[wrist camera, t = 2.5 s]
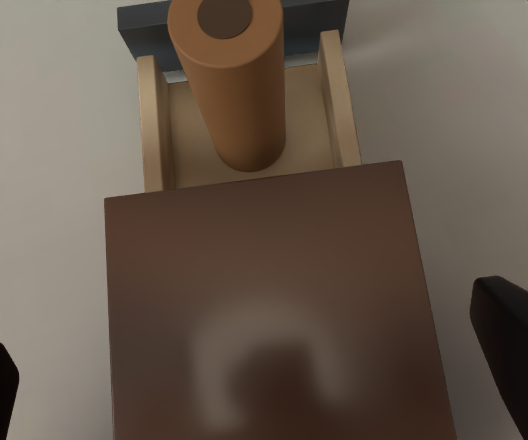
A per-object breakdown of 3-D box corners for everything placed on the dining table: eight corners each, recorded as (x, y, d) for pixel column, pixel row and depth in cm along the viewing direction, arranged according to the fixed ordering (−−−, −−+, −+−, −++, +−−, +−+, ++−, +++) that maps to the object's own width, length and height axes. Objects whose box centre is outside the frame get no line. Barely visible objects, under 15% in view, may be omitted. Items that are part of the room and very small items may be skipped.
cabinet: (145, 228, 24) (103, 197, 18) (376, 199, 24) (402, 158, 18) (163, 532, 21) (118, 603, 15) (431, 502, 20) (482, 564, 15)
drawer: (137, -14, 26) (112, -71, 22) (325, -41, 26) (331, -103, 22) (156, 291, 22) (130, 282, 18) (379, 263, 22) (397, 249, 18)
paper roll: (299, 127, 22) (305, -4, 14) (260, 186, 22) (240, 87, 13) (240, 93, 23) (209, -54, 14) (200, 149, 22) (143, 31, 14)
